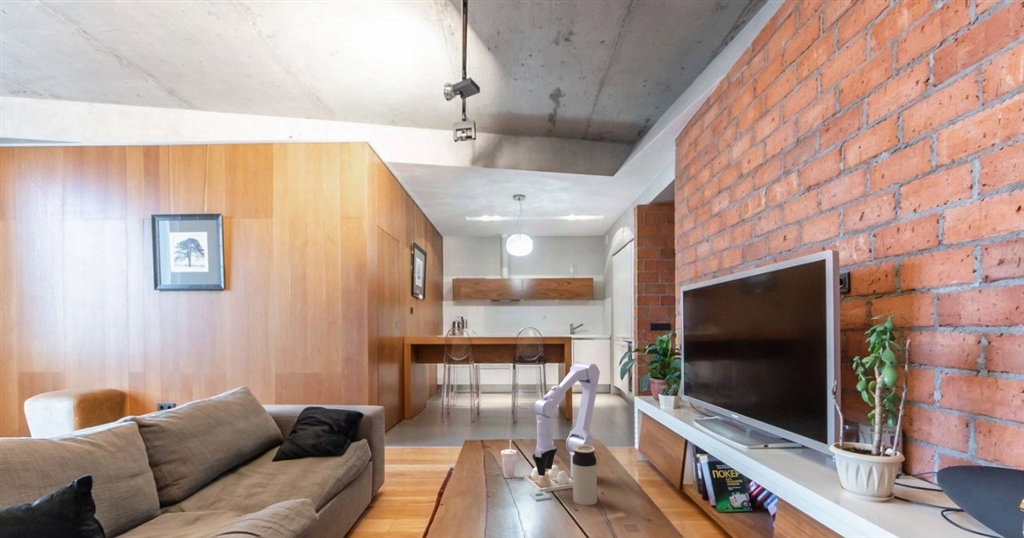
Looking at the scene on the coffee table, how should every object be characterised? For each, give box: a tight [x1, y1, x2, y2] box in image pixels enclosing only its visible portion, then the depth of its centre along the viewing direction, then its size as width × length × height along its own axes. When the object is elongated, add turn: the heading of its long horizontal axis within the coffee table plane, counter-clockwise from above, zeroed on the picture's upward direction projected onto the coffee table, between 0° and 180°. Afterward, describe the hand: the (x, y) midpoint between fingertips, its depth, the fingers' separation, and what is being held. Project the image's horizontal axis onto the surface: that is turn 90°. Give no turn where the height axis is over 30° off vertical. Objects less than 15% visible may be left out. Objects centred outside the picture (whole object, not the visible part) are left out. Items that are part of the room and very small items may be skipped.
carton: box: [522, 471, 573, 493], centre depth 169 cm, size 15×15×2 cm
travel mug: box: [572, 445, 598, 506], centre depth 154 cm, size 8×8×18 cm
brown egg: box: [537, 474, 551, 488], centre depth 164 cm, size 5×5×5 cm
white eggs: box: [530, 464, 570, 485], centre depth 170 cm, size 12×12×5 cm
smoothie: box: [500, 439, 518, 480], centre depth 179 cm, size 6×6×14 cm
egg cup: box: [529, 491, 552, 502], centre depth 156 cm, size 6×6×2 cm
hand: (545, 471), depth 166 cm, fingers open, 7 cm apart
